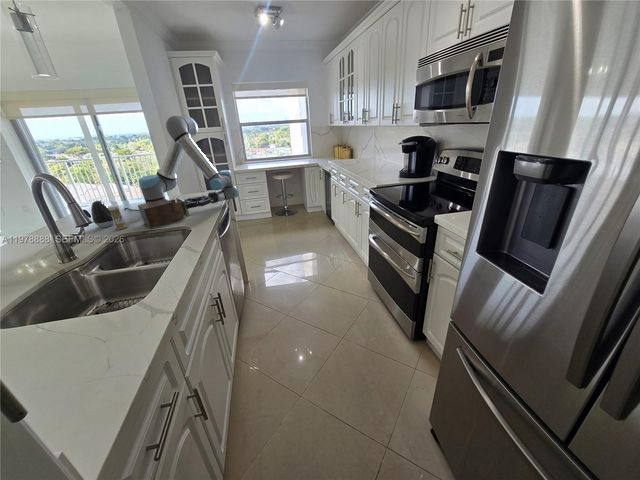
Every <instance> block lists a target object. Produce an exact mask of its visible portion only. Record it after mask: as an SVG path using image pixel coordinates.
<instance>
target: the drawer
mask: <svg viewBox="0 0 640 480" xmlns="http://www.w3.org/2000/svg"><path fill="white" fill-rule="evenodd" d="M185 200H186V199H182V198H179V197H176V198H174V199H173V198H172V199H169V200H168V201H171V202H173V206H174V209H175V212H176V215H177V219H178V220H179V219H181V218H184V217H185V216H186V217H190V213H189V209H187V207H186V203H187V204H190V203H193V202H189V201H185Z"/></svg>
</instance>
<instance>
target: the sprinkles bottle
mask: <svg viewBox="0 0 640 480" xmlns="http://www.w3.org/2000/svg"><path fill="white" fill-rule="evenodd" d="M107 206H108V205H107ZM108 210H109V211H110V213H111V216H112V219H113V221H114V225H115V228H116V230H117V231H120V230H124V229H126V228H127V226H126V223H125V221H124V218H123V216H122V213H121V211H120V207H119V206H118V204H112V205H109V206H108Z"/></svg>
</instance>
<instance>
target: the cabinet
mask: <svg viewBox="0 0 640 480" xmlns="http://www.w3.org/2000/svg"><path fill="white" fill-rule="evenodd" d="M137 207H138V208H137V209H138V210H140V211H139V213H140V215H141V219H142V221H143V223H144V225H145V226H147V227H148V228H149V229H155V228H159V227H162V226H166V225H169V224H172V223H176V222H179V218H178V219H177V215H176V212H175V209H174V206H173V202H171V201H169V200H168V199H167V198H166V199H163V200H158V201H154V202H149V203H146V202H145V203H140V204H137Z"/></svg>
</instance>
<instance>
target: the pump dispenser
mask: <svg viewBox="0 0 640 480" xmlns="http://www.w3.org/2000/svg"><path fill="white" fill-rule="evenodd" d="M90 209H91V211H90V212H91V218H92V221H93V223H94V224H95V225H96V226H98V227H99V228H108V227H111V226H114V225H115V223H114V221H113V219H112V216H111V213H110V211H109V210H108V205H107V204H106V203H105V202H104V201H103V200H102V199H100V200H95V201H93V202H92V203H91V208H90Z"/></svg>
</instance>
